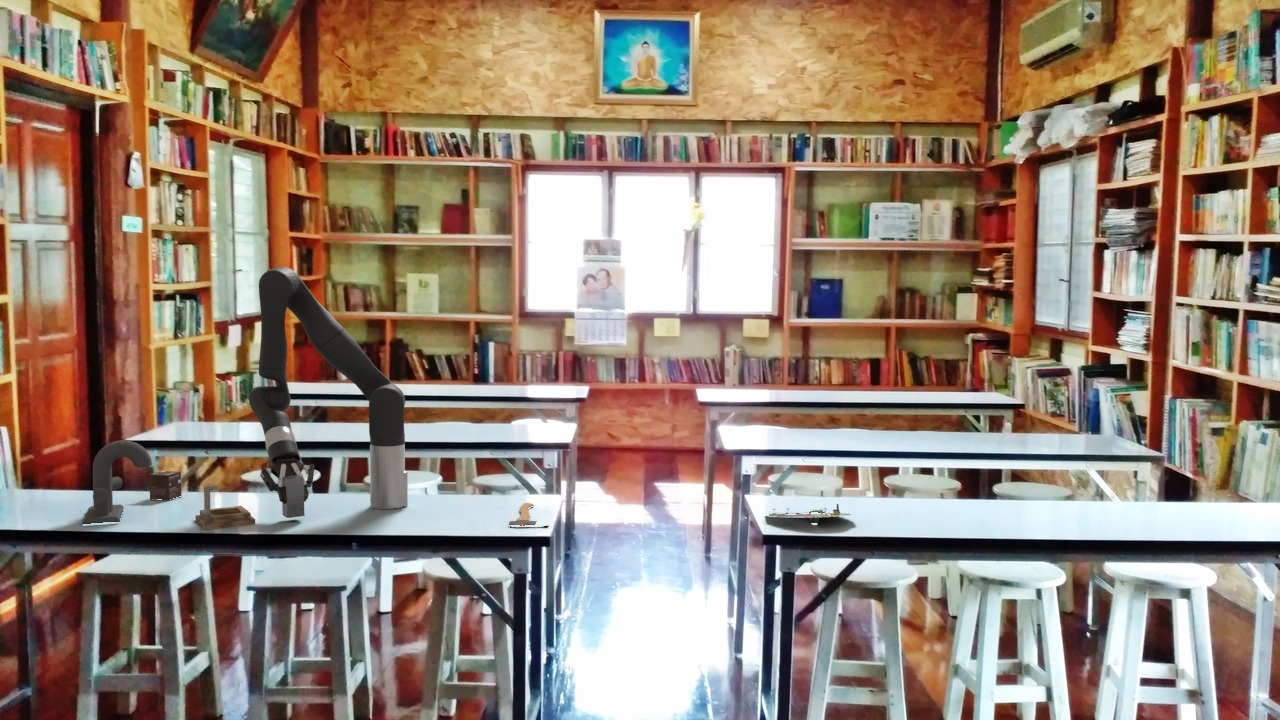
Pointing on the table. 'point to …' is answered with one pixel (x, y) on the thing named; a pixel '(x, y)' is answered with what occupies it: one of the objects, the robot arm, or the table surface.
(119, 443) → the faucet
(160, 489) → the box
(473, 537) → the table surface
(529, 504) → the tan hook stand
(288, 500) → the grey upright tablet
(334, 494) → the table surface
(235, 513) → the keeper
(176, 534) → the table surface
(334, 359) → the robot arm
